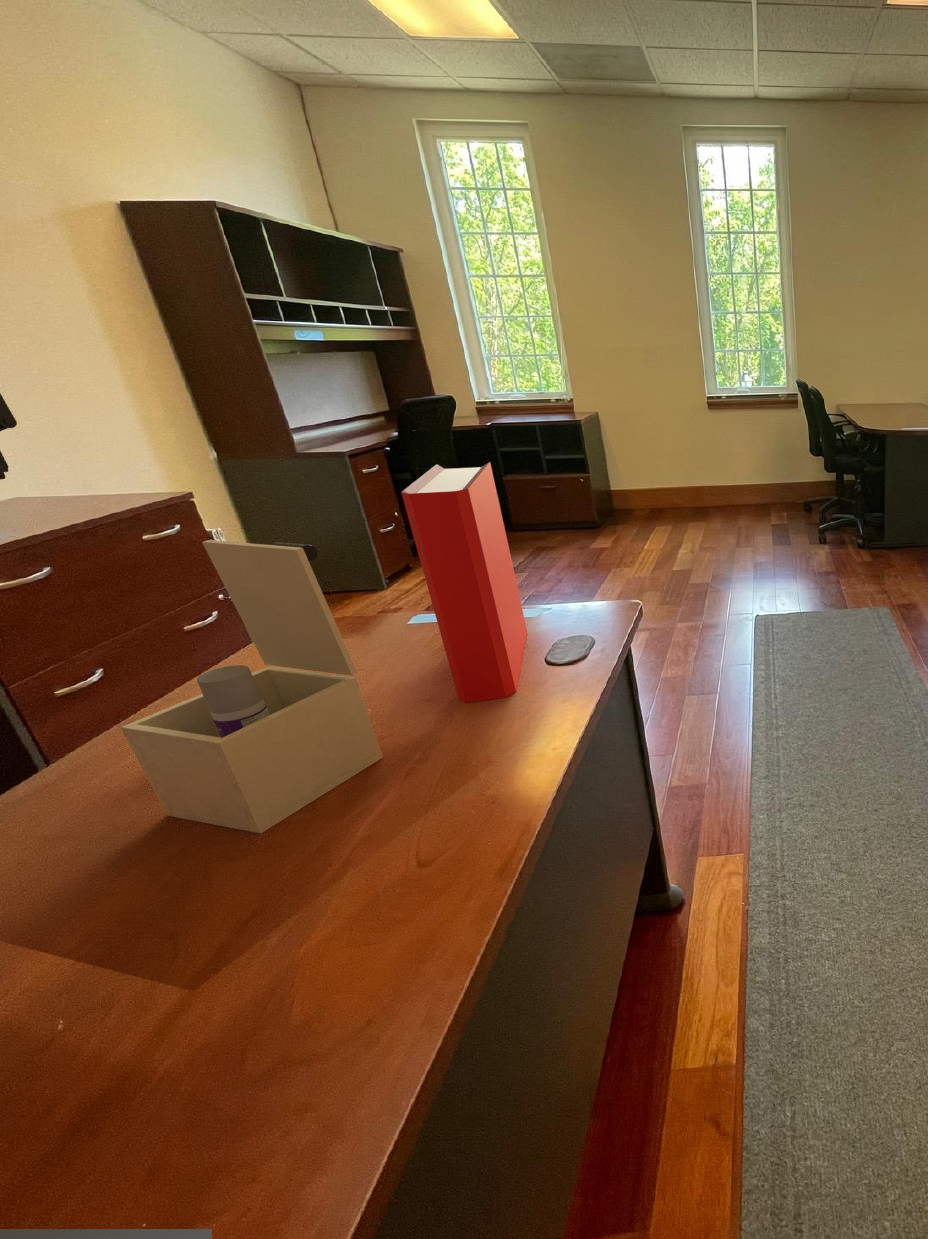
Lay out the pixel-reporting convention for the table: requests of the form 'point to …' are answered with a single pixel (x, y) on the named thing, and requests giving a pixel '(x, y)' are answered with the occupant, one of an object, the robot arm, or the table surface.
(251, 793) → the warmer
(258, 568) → the lid
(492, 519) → the book
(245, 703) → the container
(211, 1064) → the table surface
